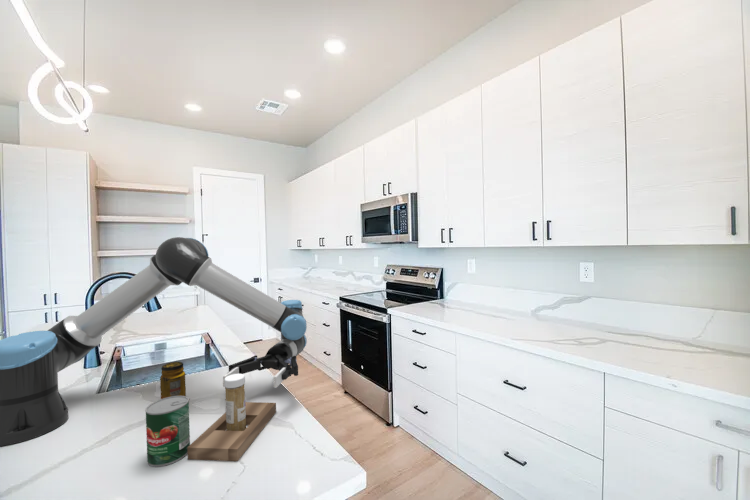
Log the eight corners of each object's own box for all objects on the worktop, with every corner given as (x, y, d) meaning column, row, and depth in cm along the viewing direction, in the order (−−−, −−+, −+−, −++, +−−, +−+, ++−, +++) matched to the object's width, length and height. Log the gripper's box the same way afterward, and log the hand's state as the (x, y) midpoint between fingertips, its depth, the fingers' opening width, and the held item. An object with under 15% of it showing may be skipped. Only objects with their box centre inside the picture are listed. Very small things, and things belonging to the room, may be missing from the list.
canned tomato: (142, 471, 65) (140, 416, 65) (151, 449, 72) (150, 400, 72) (188, 460, 68) (186, 407, 68) (192, 440, 76) (190, 392, 75)
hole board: (187, 459, 68) (187, 447, 68) (237, 411, 88) (236, 401, 88) (237, 461, 67) (237, 449, 67) (276, 411, 87) (275, 402, 87)
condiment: (190, 399, 96) (188, 358, 96) (184, 412, 89) (182, 368, 88) (161, 404, 94) (159, 362, 94) (152, 418, 86) (151, 373, 86)
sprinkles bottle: (248, 433, 77) (246, 377, 77) (227, 440, 75) (225, 381, 75) (244, 425, 81) (242, 371, 81) (224, 431, 79) (222, 375, 79)
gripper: (319, 366, 104) (297, 397, 83) (245, 365, 106) (204, 395, 85) (319, 342, 104) (296, 367, 82) (244, 342, 106) (203, 366, 85)
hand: (249, 381), depth 84 cm, fingers open, 13 cm apart
